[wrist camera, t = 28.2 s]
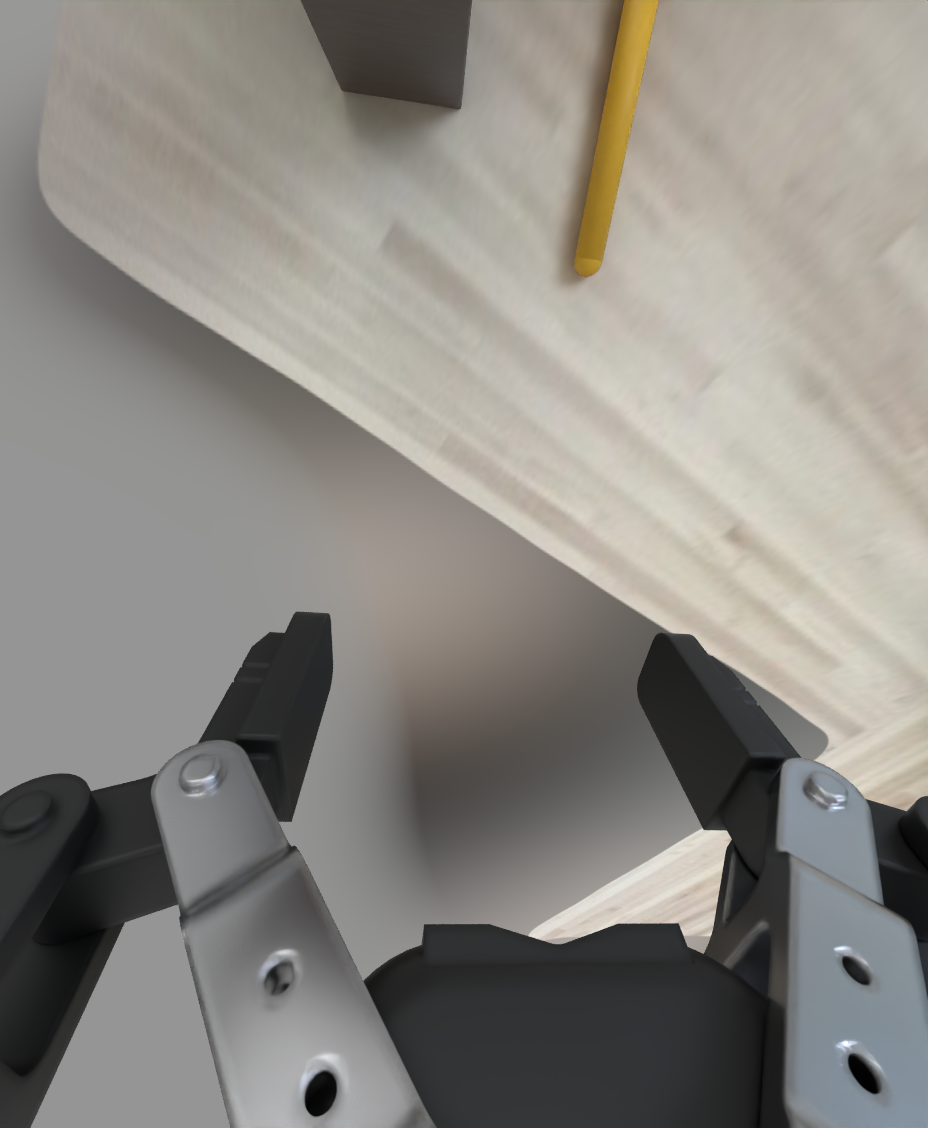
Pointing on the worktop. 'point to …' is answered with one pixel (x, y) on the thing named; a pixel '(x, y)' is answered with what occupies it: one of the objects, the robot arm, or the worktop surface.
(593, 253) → the hammer
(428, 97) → the stand
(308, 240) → the worktop surface
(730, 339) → the worktop surface
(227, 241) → the worktop surface
